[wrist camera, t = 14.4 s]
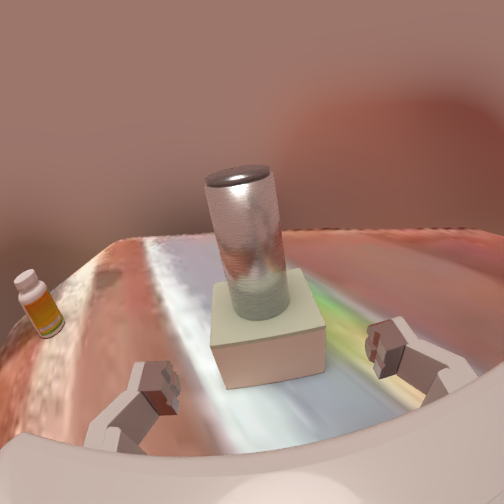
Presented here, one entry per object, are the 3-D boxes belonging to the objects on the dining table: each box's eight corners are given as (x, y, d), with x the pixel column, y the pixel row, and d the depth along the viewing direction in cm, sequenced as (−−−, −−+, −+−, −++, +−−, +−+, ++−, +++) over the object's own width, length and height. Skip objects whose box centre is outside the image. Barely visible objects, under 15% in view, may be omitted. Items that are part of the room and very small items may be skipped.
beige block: (303, 312, 31) (300, 267, 29) (324, 372, 23) (325, 325, 21) (225, 326, 31) (213, 283, 29) (226, 389, 23) (209, 346, 21)
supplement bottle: (70, 320, 36) (43, 266, 32) (50, 342, 31) (18, 286, 27) (53, 315, 37) (28, 266, 33) (34, 335, 33) (5, 284, 29)
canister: (284, 281, 27) (266, 161, 22) (295, 314, 22) (277, 172, 17) (232, 291, 27) (205, 172, 22) (234, 325, 22) (199, 186, 17)
